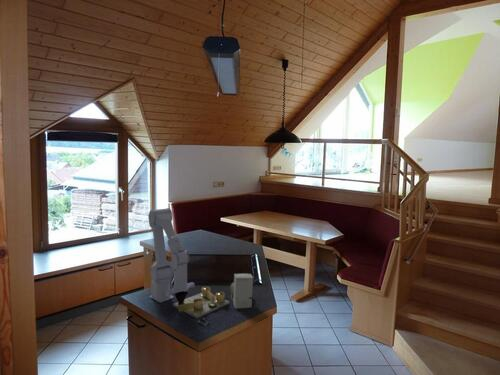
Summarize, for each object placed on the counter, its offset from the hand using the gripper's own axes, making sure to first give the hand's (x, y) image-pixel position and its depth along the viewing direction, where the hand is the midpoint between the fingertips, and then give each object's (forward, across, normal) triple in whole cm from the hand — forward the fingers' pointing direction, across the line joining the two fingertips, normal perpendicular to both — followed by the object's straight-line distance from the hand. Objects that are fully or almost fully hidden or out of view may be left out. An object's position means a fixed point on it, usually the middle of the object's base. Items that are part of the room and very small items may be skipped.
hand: (180, 306), depth 161 cm
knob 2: (+1, +16, -1) cm, 16 cm away
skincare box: (+3, +24, -16) cm, 29 cm away
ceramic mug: (+3, +29, -9) cm, 30 cm away
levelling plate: (+2, +11, -2) cm, 11 cm away
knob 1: (+1, +3, -4) cm, 5 cm away
